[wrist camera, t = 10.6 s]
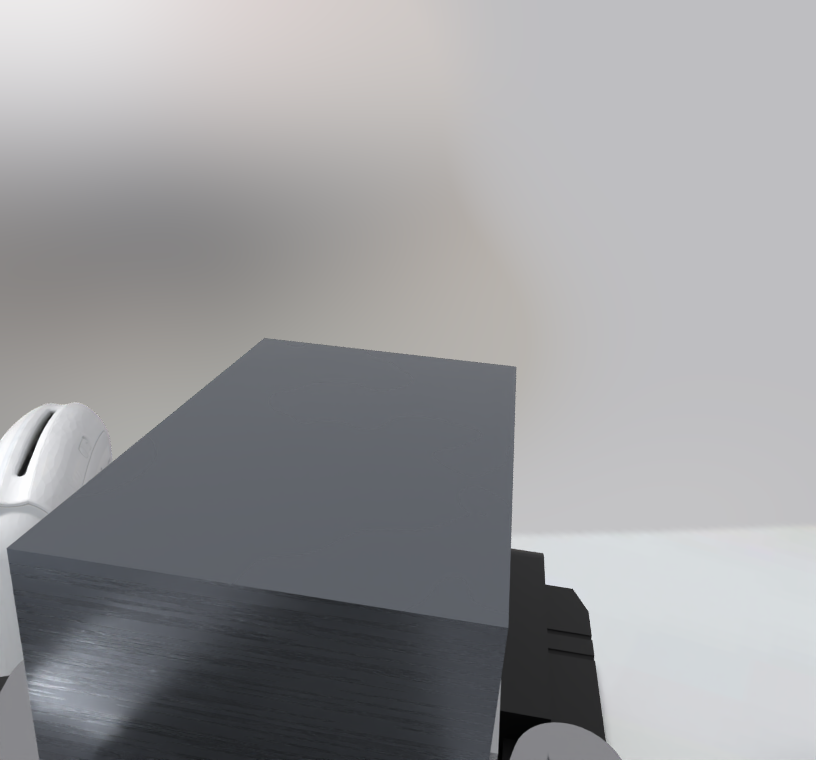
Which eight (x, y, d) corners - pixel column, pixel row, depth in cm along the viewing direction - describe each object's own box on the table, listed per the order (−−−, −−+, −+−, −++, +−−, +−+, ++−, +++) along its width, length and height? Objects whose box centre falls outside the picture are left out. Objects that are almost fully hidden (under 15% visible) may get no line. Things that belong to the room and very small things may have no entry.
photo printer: (43, 602, 36) (14, 380, 32) (131, 595, 37) (114, 378, 33) (-19, 773, 27) (-71, 490, 23) (101, 756, 28) (72, 483, 24)
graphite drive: (108, 1204, 9) (6, 548, 6) (266, 794, 15) (264, 338, 11) (424, 1291, 9) (528, 631, 5) (463, 832, 14) (526, 367, 11)
